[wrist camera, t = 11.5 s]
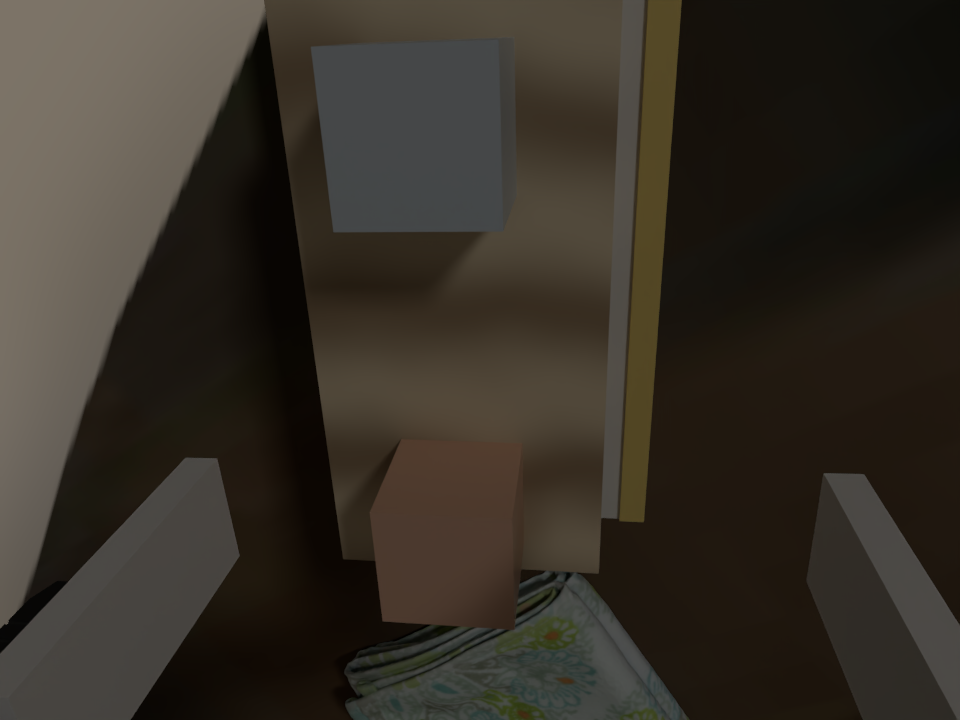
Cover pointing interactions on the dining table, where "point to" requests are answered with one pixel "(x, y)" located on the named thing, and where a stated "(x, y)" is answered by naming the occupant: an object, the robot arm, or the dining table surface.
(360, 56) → the grey cube
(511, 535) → the block
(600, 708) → the towel
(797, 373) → the dining table surface
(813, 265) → the dining table surface
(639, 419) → the dock
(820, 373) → the dining table surface
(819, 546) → the robot arm
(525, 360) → the board
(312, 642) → the dining table surface
